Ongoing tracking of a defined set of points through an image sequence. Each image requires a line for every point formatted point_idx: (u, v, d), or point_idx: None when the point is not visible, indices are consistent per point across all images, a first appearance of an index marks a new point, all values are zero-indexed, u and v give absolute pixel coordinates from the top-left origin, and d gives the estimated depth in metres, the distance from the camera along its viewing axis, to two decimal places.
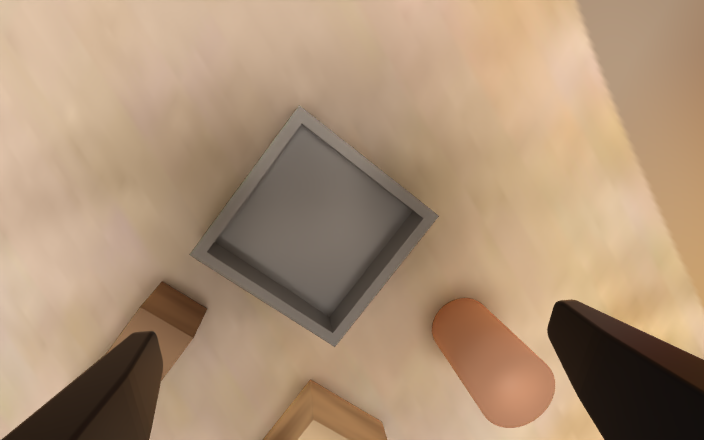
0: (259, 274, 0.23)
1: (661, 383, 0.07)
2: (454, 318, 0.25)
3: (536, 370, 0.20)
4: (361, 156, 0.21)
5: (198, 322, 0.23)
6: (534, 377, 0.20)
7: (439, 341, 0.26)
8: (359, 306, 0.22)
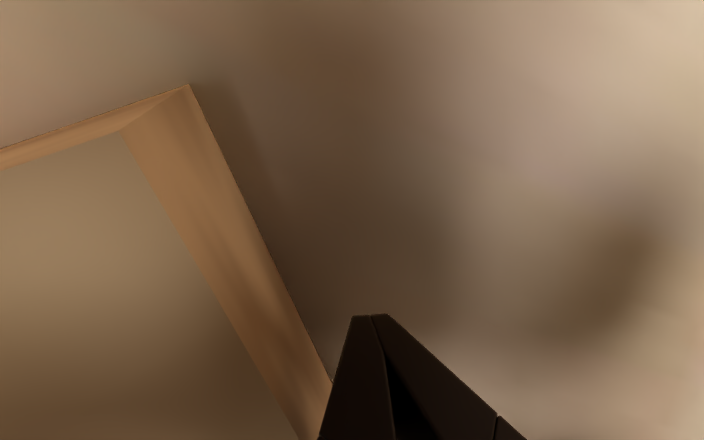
0: None
1: (410, 410, 0.06)
2: None
3: None
4: None
5: None
6: None
7: None
8: None
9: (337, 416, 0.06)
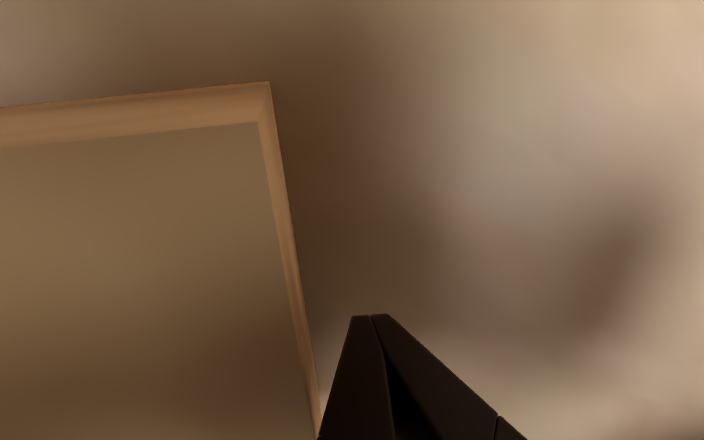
0: None
1: (411, 410, 0.06)
2: None
3: None
4: None
5: None
6: None
7: None
8: None
9: (337, 416, 0.06)
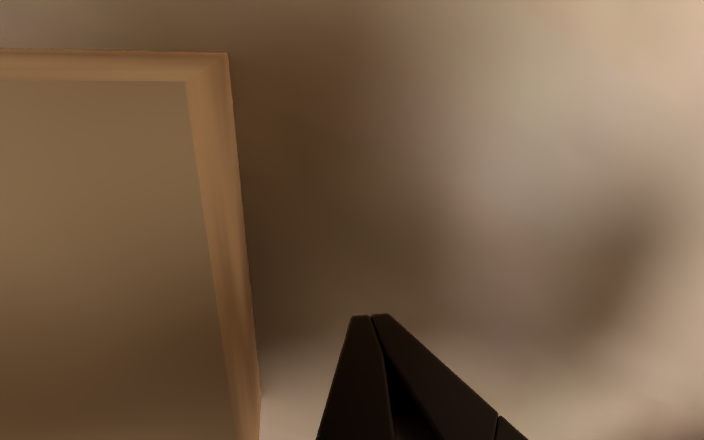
0: None
1: (412, 410, 0.06)
2: None
3: None
4: None
5: None
6: None
7: None
8: None
9: (336, 416, 0.06)
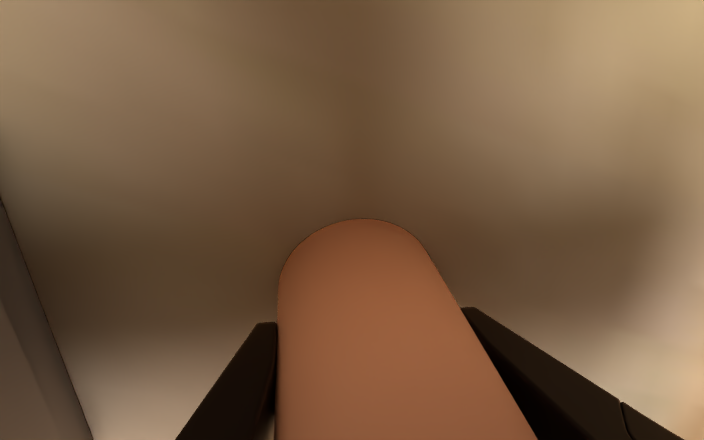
0: None
1: (528, 397, 0.07)
2: (277, 331, 0.08)
3: None
4: None
5: None
6: None
7: None
8: None
9: (193, 431, 0.06)
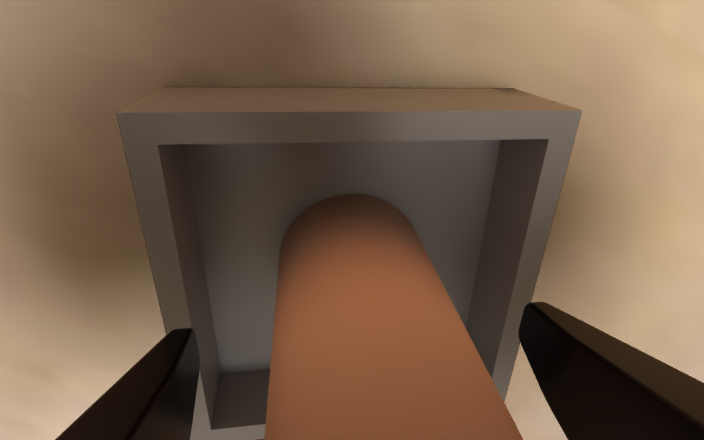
0: None
1: (621, 387, 0.07)
2: (277, 289, 0.10)
3: None
4: (332, 115, 0.08)
5: None
6: None
7: None
8: (507, 347, 0.12)
9: None
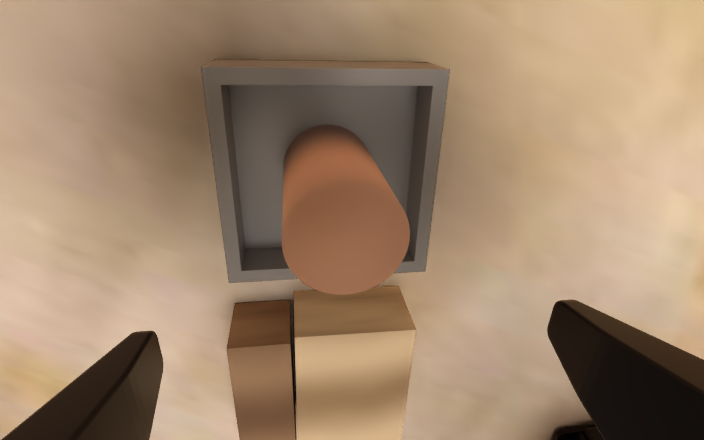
0: None
1: (661, 383, 0.07)
2: (283, 174, 0.17)
3: (348, 198, 0.12)
4: (312, 70, 0.15)
5: (287, 321, 0.21)
6: (353, 209, 0.12)
7: None
8: (423, 221, 0.19)
9: None
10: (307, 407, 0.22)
